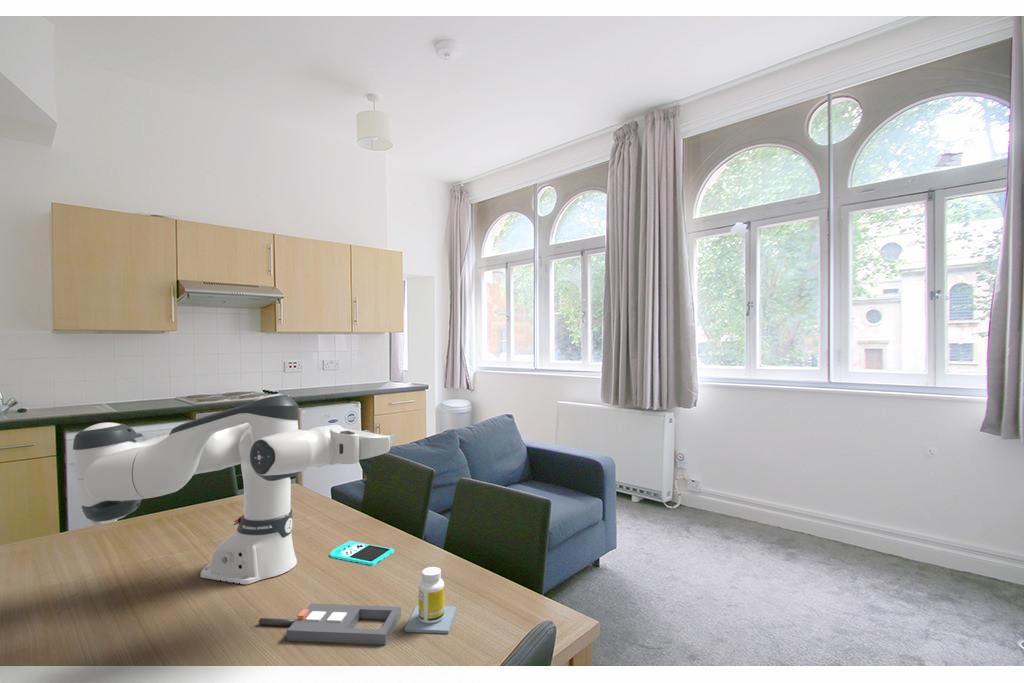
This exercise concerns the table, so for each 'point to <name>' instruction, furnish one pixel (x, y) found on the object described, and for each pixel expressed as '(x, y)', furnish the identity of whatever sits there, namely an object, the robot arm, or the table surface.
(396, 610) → the power strip
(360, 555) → the handheld game console
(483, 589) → the table surface
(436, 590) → the supplement bottle
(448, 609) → the rubber mat
